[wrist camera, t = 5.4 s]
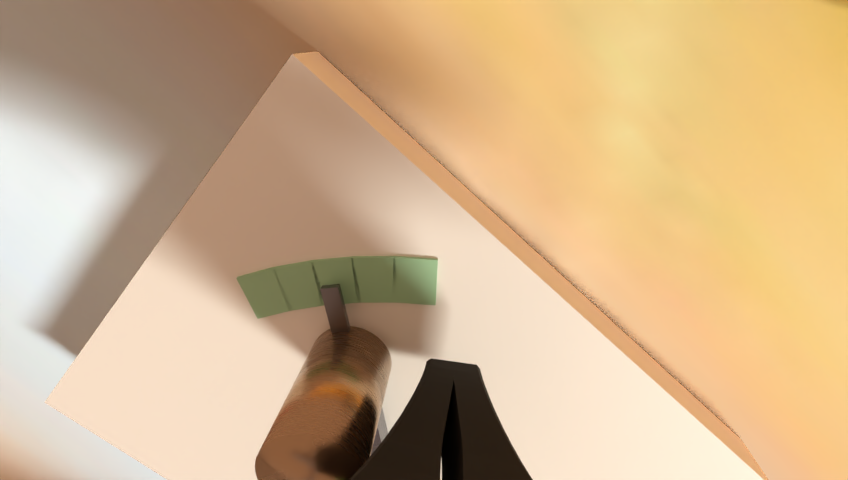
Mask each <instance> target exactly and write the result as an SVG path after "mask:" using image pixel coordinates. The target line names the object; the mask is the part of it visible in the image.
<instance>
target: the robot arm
mask: <svg viewBox="0 0 848 480" xmlns="http://www.w3.org/2000/svg"><path fill="white" fill-rule="evenodd" d="M441 457H442V480H533V479H532V478H531V476H530V475H529V473H528V471H527V470H526V468H525V467H524V465H523V463H522V462H521V460H520V458H519V456H518V455H517V453H516V451H515V449H514V447H513V446H512V444H511V442H510V440H509V438H508V436H507V434H506V432H505V430H504V428H503V426H502V424H501V422H500V420H499V418H498V416H497V413H496V411H495V409H494V407H493V404H492V402H491V400H490V397H489V395H488V392H487V389H486V387H485V384H484V381H483V378H482V374H481V371H480V368H479V367H478V366H477V365H476V364H468V363H461V362H454V361H447V360H440V359H433V358H431V359H429V360H428V361H426V366H425V369H424V372H423V375H422V377H421V379H420V381H419V383H418V385H417V388H416V390H415V392H414V393H413V395H412V397H411V399H410V400H409V402H408V404H407V405H406V407H405V409H404V411H403V412H402V414H401V415H400V417H399V418H398V420H397V421H396V423H395V424H394V426H393V427H392V428H391V430H390V431H389V433H388V434H387V436H386V437H385V438H384V440H383V441H382V442H381V444H380V445H379V446H378V447H377V449H376V450H375V451H374V452H373V453H372V455H371V456H370V457H369V458H368V460H367V461H366V462H365V463H364V464H363V465H362V466H361V467H360V468H359V470H358V471H357V472H356V473H355V474H354V475H353V476H352V477H351V478H350V479H349V480H440V470H441Z"/></svg>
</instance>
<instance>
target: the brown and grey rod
mask: <svg viewBox="0 0 848 480" xmlns="http://www.w3.org/2000/svg"><path fill="white" fill-rule="evenodd" d="M320 291H321V295H322V298H323V302H324V306H325V310H326V314H327V317H328V321H329V325H330V329H329V330H327V331H325V332H323V333H322V334H321V335H320V336H319V337H318V338H317V339H316V341H315V342H314V344H313V346H312V348H311V350H310V352H309V354H308V356H307V358H306V360H305V362H304V364H303V366H302V368H301V370H300V372H299V374H298V376H297V378H296V380H295V382H294V384H293V386H292V388H291V390H290V392H289V394H288V396H287V398H286V399H285V401H284V403H283V405H282V407H281V409H280V411H279V413H278V415H277V417H276V419H275V421H274V423H273V425H272V427H271V429H270V431H269V433H268V435H267V437H266V439H265V441H264V443H263V445H262V447H261V449H260V451H259V453H258V455H257V457H256V461H255V473H256V476H257V479H258V480H349V479H350V478H351V477H352V476H353V475H354V474H355V473H356V472H357V471H358V470H359V468H360V467H361V466H362V465H363V464H364V463H365V462H366V461H367V460H368V458H369V457H370V456H371V455H372V453H373V452H374V451H375V450H376V449H377V447H378V446H379V445H380V444H381V442H382V441H383V440H384V438H385V437H386V436H387V434H388V430H387V426H386V421H385V417H384V413H383V408H382V405H383V401H384V397H385V392H386V388H387V384H388V380H389V376H390V371H391V366H392V361H391V356H390V353H389V350H388V348H387V347H386V345H385V344H384V343H383V342H382V340H380V339H379V338H378V337H377V336H376V335H374V334H373V333H371V332H369V331H367V330H365V329H362V328H359V327H354V326H350V324H349V320H348V315H347V311H346V307H345V303H344V299H343V295H342V291H341V287H340V284H332V285H322V287H321V288H320Z"/></svg>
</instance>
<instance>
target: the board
mask: <svg viewBox="0 0 848 480" xmlns="http://www.w3.org/2000/svg"><path fill="white" fill-rule="evenodd" d="M332 284H340V287H341V291H342V295H343V299H344V303H345V307H346V311H347V315H348V320H349V324H350V326H354V327H359V328H362V329H365V330H367V331H369V332H371V333H373V334H374V335H376V336H377V337H378V338H379V339H380V340H382V342H383V343H384V344H385V345H386V347H387V348H388V350H389V353H390V356H391V361H392V366H391V371H390V376H389V380H388V384H387V388H386V392H385V397H384V401H383V405H382V408H383V413H384V417H385V421H386V426H387V430H388V433H389V431H390V430H391V428H392V427H393V426H394V424H395V423H396V421H397V420H398V418H399V417H400V415H401V414H402V412H403V411H404V409H405V407H406V405H407V404H408V402H409V400H410V399H411V397H412V395H413V393H414V392H415V390H416V388H417V385H418V383H419V381H420V379H421V377H422V375H423V372H424V369H425V366H426V361H428V360H429V359H431V358H433V359H440V360H447V361H454V362H461V363H468V364H476V365H477V366H478V367H479V368H480V371H481V374H482V378H483V381H484V384H485V387H486V389H487V392H488V395H489V397H490V400H491V402H492V404H493V407H494V409H495V411H496V413H497V416H498V418H499V420H500V422H501V424H502V426H503V428H504V430H505V432H506V434H507V436H508V438H509V440H510V442H511V444H512V446H513V447H514V449H515V451H516V453H517V455H518V456H519V458H520V460H521V462H522V463H523V465H524V467H525V468H526V470H527V471H528V473H529V475H530V476H531V478H532V479H533V480H768V478H767V477H766V476H765V474H764V473H763V471H762V470H761V468H760V467H759V465H758V464H757V462H756V461H755V459H754V458H753V456H752V455H751V453H750V452H749V450H748V449H747V447H746V446H745V444H744V443H743V441H742V440H741V439H740V438H739V437H738V436H737V435H736V434H735V433H733V432H732V431H731V430H730V429H729V428H728V427H727V426H726V425H725V424H724V423H723V422H721V421H720V420H719V419H718V418H717V417H716V416H715V415H714V414H713V413H712V412H711V411H709V410H708V409H707V408H706V407H705V406H704V405H703V404H702V403H701V402H700V401H699V400H697V399H696V398H695V397H694V396H693V395H692V394H691V393H690V392H689V391H688V390H687V389H685V388H684V387H683V386H682V385H681V384H680V383H679V382H678V381H677V380H676V379H675V378H673V377H672V376H671V375H670V374H669V373H668V372H667V371H666V370H665V369H664V368H663V367H661V366H660V365H659V364H658V363H657V362H656V361H655V360H654V359H653V358H652V357H651V356H649V355H648V354H647V353H646V352H645V351H644V350H643V349H642V348H641V347H640V346H639V345H637V344H636V343H635V342H634V341H633V340H632V339H631V338H630V337H629V336H628V335H627V334H625V333H624V332H623V331H622V330H621V329H620V328H619V327H618V326H617V325H616V324H615V323H613V322H612V321H611V320H610V319H609V318H608V317H607V316H606V315H605V314H604V313H603V312H601V311H600V310H599V309H598V308H597V307H596V306H595V305H594V304H593V303H592V302H591V301H589V300H588V299H587V298H586V297H585V296H584V295H583V294H582V293H581V292H580V291H579V290H577V289H576V288H575V287H574V286H573V285H572V284H571V283H570V282H569V281H568V280H567V279H565V278H564V277H563V276H562V275H561V274H560V273H559V272H558V271H557V270H556V269H555V268H553V267H552V266H551V265H550V264H549V263H548V262H547V261H546V260H545V259H544V258H543V257H541V256H540V255H539V254H538V253H537V252H536V251H535V250H534V249H533V248H532V247H531V246H529V245H528V244H527V243H526V242H525V241H524V240H523V239H522V238H521V237H520V236H519V235H517V234H516V233H515V232H514V231H513V230H512V229H511V228H510V227H509V226H508V225H507V224H505V223H504V222H503V221H502V220H501V219H500V218H499V217H498V216H497V215H496V214H495V213H493V212H492V211H491V210H490V209H489V208H488V207H487V206H486V205H485V204H484V203H483V202H481V201H480V200H479V199H478V198H477V197H476V196H475V195H474V194H473V193H472V192H471V191H469V190H468V189H467V188H466V187H465V186H464V185H463V184H462V183H461V182H460V181H459V180H457V179H456V178H455V177H454V176H453V175H452V174H451V173H450V172H449V171H448V170H447V169H445V168H444V167H443V166H442V165H441V164H440V163H439V162H438V161H437V160H436V159H435V158H433V157H432V156H431V155H430V154H429V153H428V152H427V151H426V150H425V149H424V148H423V147H421V146H420V145H419V144H418V143H417V142H416V141H415V140H414V139H413V138H412V137H411V136H409V135H408V134H407V133H406V132H405V131H404V130H403V129H402V128H401V127H400V126H399V125H397V124H396V123H395V122H394V121H393V120H392V119H391V118H390V117H389V116H388V115H387V114H385V113H384V112H383V111H382V110H381V109H380V108H379V107H378V106H377V105H376V104H375V103H373V102H372V101H371V100H370V99H369V98H368V97H367V96H366V95H365V94H364V93H363V92H361V91H360V90H359V89H358V88H357V87H356V86H355V85H354V84H353V83H352V82H351V81H349V80H348V79H347V78H346V77H345V76H344V75H343V74H342V73H341V72H340V71H339V70H337V69H336V68H335V67H334V66H333V65H332V64H331V63H330V62H329V61H328V60H327V59H325V58H324V57H323V56H322V55H321V54H320V53H319V52H318V51H317V52H307V53H297V54H292V55H291V56H290V57H289V59H288V60H287V62H286V63H285V65H284V66H283V67H282V69H281V70H280V72H279V73H278V74H277V76H276V77H275V79H274V80H273V81H272V83H271V84H270V86H269V87H268V88H267V90H266V91H265V93H264V94H263V95H262V97H261V98H260V100H259V101H258V103H257V104H256V105H255V107H254V108H253V110H252V111H251V112H250V114H249V115H248V117H247V118H246V119H245V121H244V122H243V124H242V125H241V126H240V128H239V129H238V131H237V132H236V133H235V135H234V136H233V138H232V139H231V141H230V142H229V143H228V145H227V146H226V148H225V149H224V150H223V152H222V153H221V155H220V156H219V157H218V159H217V160H216V162H215V163H214V164H213V166H212V167H211V169H210V170H209V172H208V173H207V174H206V176H205V177H204V179H203V180H202V181H201V183H200V184H199V186H198V187H197V188H196V190H195V191H194V193H193V194H192V195H191V197H190V198H189V200H188V201H187V202H186V204H185V205H184V207H183V208H182V210H181V211H180V212H179V214H178V215H177V217H176V218H175V219H174V221H173V222H172V224H171V225H170V226H169V228H168V229H167V231H166V232H165V233H164V235H163V236H162V238H161V239H160V240H159V242H158V243H157V245H156V246H155V248H154V249H153V250H152V252H151V253H150V255H149V256H148V257H147V259H146V260H145V262H144V263H143V264H142V266H141V267H140V269H139V270H138V271H137V273H136V274H135V276H134V277H133V278H132V280H131V281H130V283H129V284H128V286H127V287H126V288H125V290H124V291H123V293H122V294H121V295H120V297H119V298H118V300H117V301H116V302H115V304H114V305H113V307H112V308H111V309H110V311H109V312H108V314H107V315H106V316H105V318H104V319H103V321H102V322H101V324H100V325H99V326H98V328H97V329H96V331H95V332H94V333H93V335H92V336H91V338H90V339H89V340H88V342H87V343H86V345H85V346H84V347H83V349H82V350H81V352H80V353H79V354H78V356H77V357H76V359H75V360H74V362H73V363H72V364H71V366H70V367H69V369H68V370H67V371H66V373H65V374H64V376H63V377H62V378H61V380H60V381H59V383H58V384H57V385H56V387H55V388H54V390H53V391H52V392H51V394H50V395H49V397H48V398H47V400H46V401H45V403H46V404H48V405H49V406H51V407H53V408H54V409H56V410H57V411H59V412H61V413H62V414H64V415H65V416H67V417H68V418H70V419H72V420H73V421H75V422H76V423H78V424H80V425H81V426H83V427H84V428H86V429H88V430H89V431H91V432H92V433H94V434H96V435H97V436H99V437H100V438H102V439H104V440H105V441H107V442H108V443H110V444H112V445H113V446H115V447H116V448H118V449H119V450H121V451H123V452H124V453H126V454H127V455H129V456H131V457H132V458H134V459H135V460H137V461H139V462H140V463H142V464H143V465H145V466H147V467H148V468H150V469H151V470H153V471H155V472H156V473H158V474H159V475H161V476H162V477H164V478H166V479H167V480H258V479H257V476H256V473H255V461H256V457H257V455H258V453H259V451H260V449H261V447H262V445H263V443H264V441H265V439H266V437H267V435H268V433H269V431H270V429H271V427H272V425H273V423H274V421H275V419H276V417H277V415H278V413H279V411H280V409H281V407H282V405H283V403H284V401H285V399H286V398H287V396H288V394H289V392H290V390H291V388H292V386H293V384H294V382H295V380H296V378H297V376H298V374H299V372H300V370H301V368H302V366H303V364H304V362H305V360H306V358H307V356H308V354H309V352H310V350H311V348H312V346H313V344H314V342H315V341H316V339H317V338H318V337H319V336H320V335H321V334H322V333H323V332H325V331H327V330H329V329H330V325H329V321H328V317H327V314H326V310H325V306H324V302H323V298H322V295H321V291H320V288H321V287H322V285H332ZM440 480H442V457H441V470H440Z"/></svg>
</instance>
